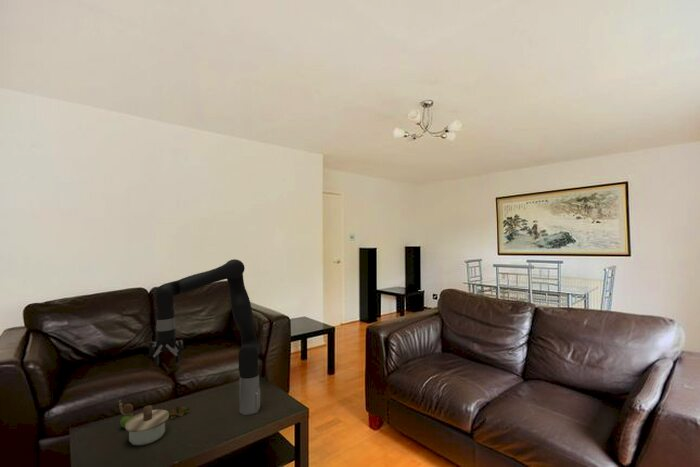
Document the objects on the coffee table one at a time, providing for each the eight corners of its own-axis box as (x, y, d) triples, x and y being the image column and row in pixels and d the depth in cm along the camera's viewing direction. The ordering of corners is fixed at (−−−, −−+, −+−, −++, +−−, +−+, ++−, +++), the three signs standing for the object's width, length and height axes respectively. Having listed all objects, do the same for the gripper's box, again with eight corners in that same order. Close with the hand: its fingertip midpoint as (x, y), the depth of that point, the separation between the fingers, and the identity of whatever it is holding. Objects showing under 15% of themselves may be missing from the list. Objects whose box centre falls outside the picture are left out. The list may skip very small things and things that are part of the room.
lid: (175, 411, 149) (176, 397, 149) (156, 431, 133) (156, 416, 133) (140, 412, 148) (140, 398, 148) (116, 432, 132) (116, 417, 132)
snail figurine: (122, 424, 150) (122, 397, 150) (137, 423, 151) (137, 397, 151) (114, 431, 145) (115, 403, 145) (130, 430, 145) (130, 402, 145)
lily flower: (169, 423, 151) (169, 413, 151) (159, 414, 159) (159, 405, 159) (195, 412, 160) (195, 403, 160) (185, 405, 168) (185, 396, 168)
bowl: (170, 427, 147) (170, 413, 147) (154, 445, 134) (154, 429, 134) (141, 428, 146) (141, 413, 147) (121, 446, 133) (122, 430, 134)
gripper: (185, 325, 153) (186, 360, 152) (154, 327, 152) (155, 362, 152) (178, 329, 145) (179, 366, 145) (145, 331, 144) (146, 368, 144)
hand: (166, 364), depth 148 cm, fingers open, 8 cm apart
